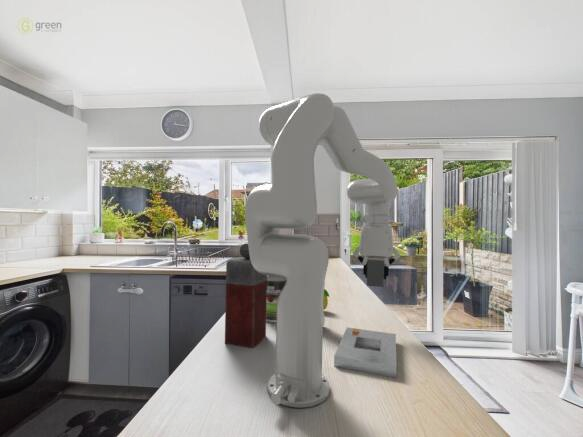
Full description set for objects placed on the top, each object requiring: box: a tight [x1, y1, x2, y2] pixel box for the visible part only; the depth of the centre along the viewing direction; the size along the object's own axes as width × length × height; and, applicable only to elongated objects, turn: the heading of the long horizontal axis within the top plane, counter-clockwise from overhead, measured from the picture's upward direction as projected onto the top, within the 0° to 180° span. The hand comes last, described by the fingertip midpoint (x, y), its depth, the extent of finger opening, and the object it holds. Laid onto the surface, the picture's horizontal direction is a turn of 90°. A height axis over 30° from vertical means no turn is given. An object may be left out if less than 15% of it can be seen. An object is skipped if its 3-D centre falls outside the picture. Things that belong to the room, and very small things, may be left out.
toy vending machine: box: [224, 242, 267, 349], centre depth 84 cm, size 9×11×28 cm
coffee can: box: [266, 276, 286, 323], centre depth 102 cm, size 10×10×14 cm
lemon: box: [323, 288, 330, 310], centre depth 110 cm, size 7×6×10 cm
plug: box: [366, 257, 385, 288], centre depth 92 cm, size 9×5×8 cm, turn 160°
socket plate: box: [333, 327, 397, 378], centre depth 75 cm, size 20×14×3 cm
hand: (375, 277), depth 91 cm, fingers closed on plug, 5 cm apart
